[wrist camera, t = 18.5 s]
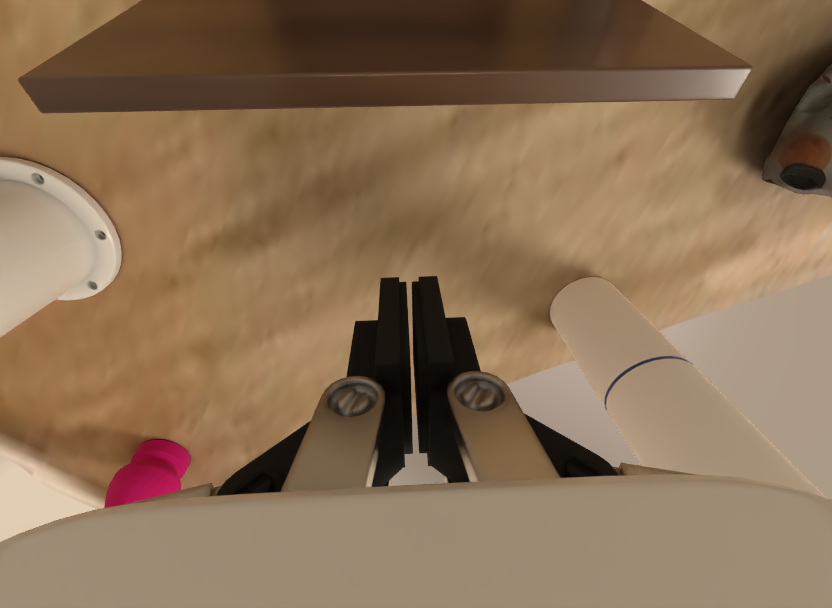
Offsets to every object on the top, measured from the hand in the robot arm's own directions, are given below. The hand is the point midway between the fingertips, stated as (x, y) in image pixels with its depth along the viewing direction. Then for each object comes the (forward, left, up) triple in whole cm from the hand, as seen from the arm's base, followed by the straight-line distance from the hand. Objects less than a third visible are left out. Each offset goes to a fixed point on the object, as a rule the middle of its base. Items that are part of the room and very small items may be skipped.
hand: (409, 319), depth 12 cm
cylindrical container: (+19, -15, -24) cm, 34 cm away
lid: (0, +9, -8) cm, 12 cm away
